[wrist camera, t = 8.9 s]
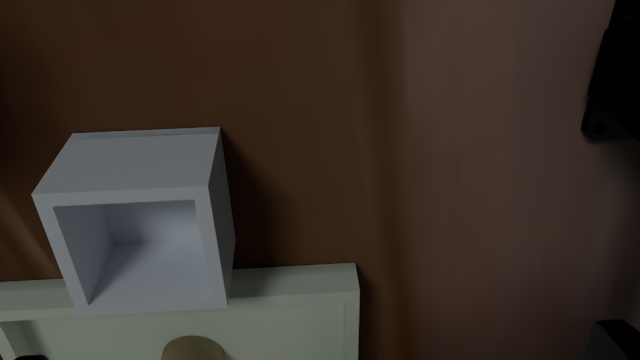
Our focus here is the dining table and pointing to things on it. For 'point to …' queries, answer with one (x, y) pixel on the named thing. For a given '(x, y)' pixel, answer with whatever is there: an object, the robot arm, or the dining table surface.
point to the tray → (195, 319)
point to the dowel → (192, 349)
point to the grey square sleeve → (140, 220)
